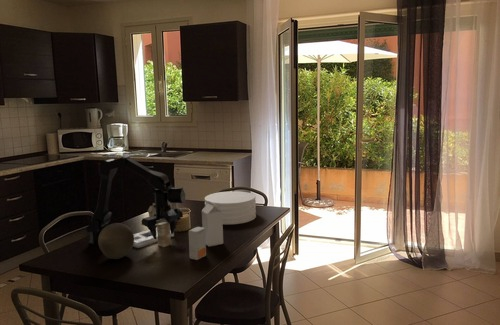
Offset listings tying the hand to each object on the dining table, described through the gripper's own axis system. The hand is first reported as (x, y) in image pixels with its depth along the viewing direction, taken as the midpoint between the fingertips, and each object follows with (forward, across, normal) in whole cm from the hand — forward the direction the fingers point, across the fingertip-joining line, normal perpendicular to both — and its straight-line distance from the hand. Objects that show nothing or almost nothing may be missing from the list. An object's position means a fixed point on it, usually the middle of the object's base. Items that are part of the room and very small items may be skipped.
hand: (163, 236), depth 178 cm
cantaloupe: (+4, -22, +2) cm, 23 cm away
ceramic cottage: (+4, +26, +35) cm, 44 cm away
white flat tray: (+4, 0, +12) cm, 13 cm away
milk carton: (+4, +15, -16) cm, 22 cm away
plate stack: (+4, +50, +7) cm, 51 cm away
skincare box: (+4, 0, -23) cm, 23 cm away
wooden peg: (+4, 0, 0) cm, 4 cm away
